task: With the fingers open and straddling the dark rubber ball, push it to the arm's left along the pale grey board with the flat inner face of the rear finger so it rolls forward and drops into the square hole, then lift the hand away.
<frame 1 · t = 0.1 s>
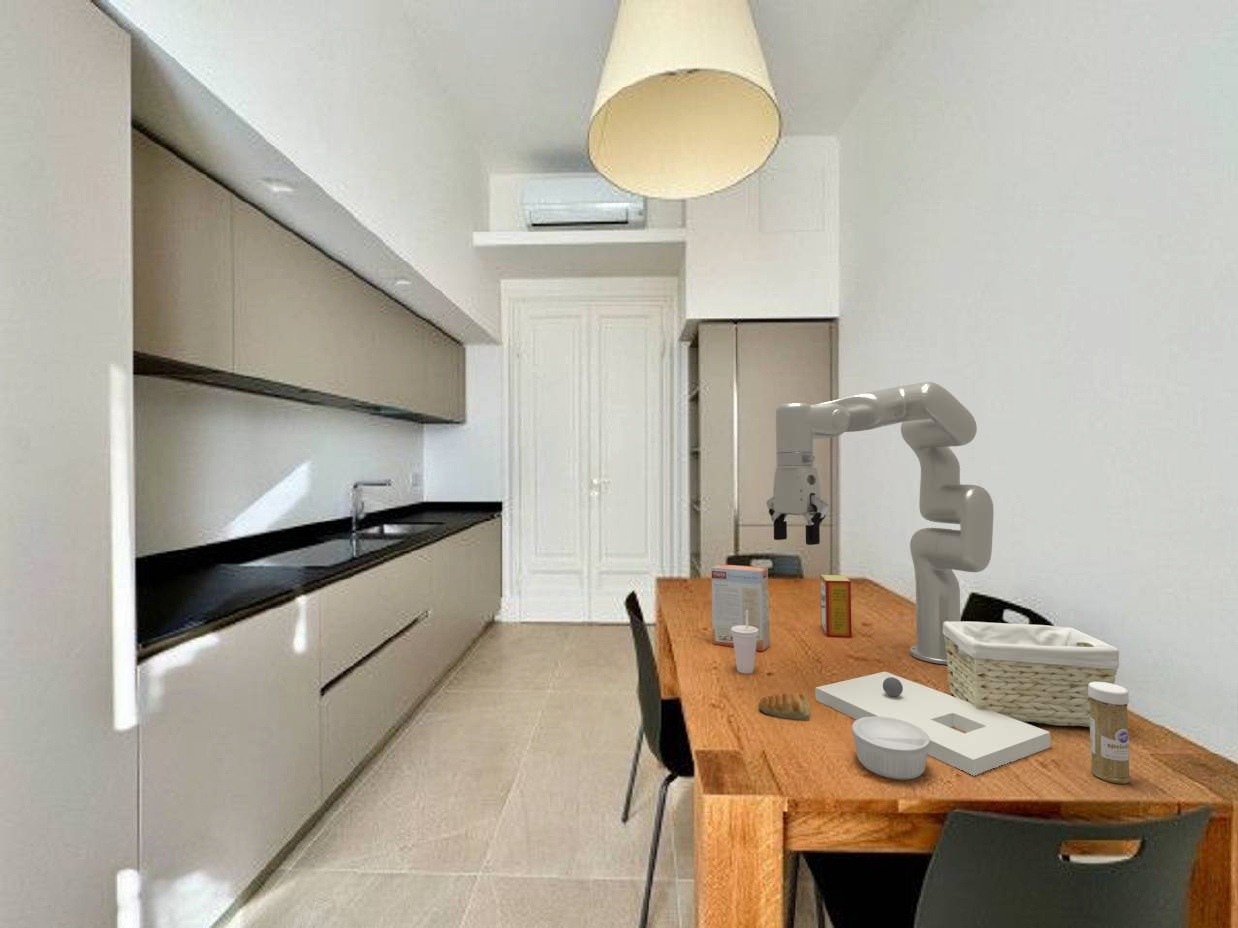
hand: (796, 541, 120), 31 cm above the table, tool pointing down, fingers open, 9 cm apart
sprinkles bottle: (1110, 777, 84), on the table
ball: (892, 686, 109), point 4 cm above the table, touching board
ramekin: (890, 766, 88), on the table
smoothie: (745, 671, 131), on the table
baking soda box: (835, 633, 160), on the table
pastry: (787, 714, 108), on the table
board: (921, 721, 103), on the table
cracker box: (740, 646, 150), on the table
storage basket: (1025, 711, 107), on the table, touching board
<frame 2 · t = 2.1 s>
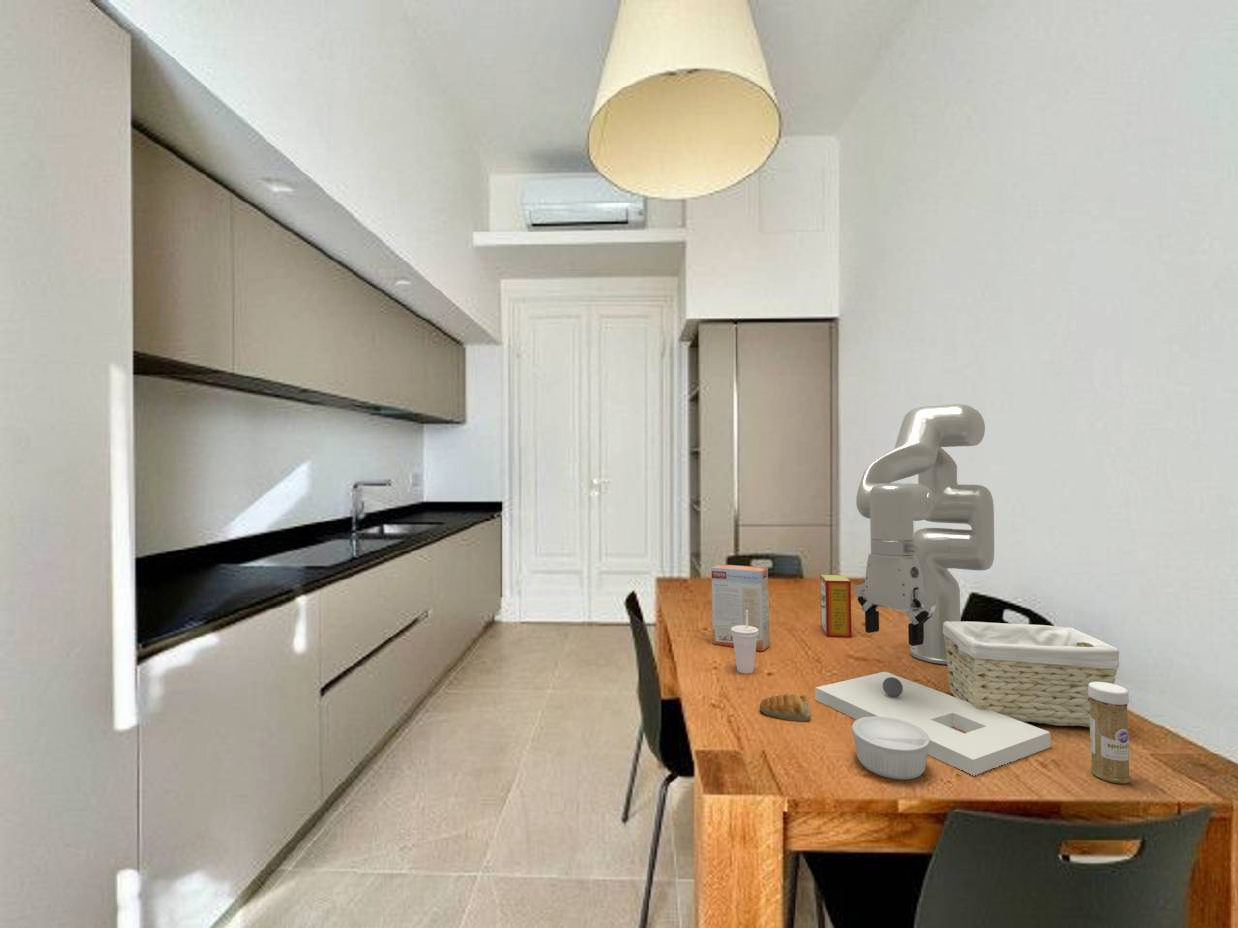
hand: (893, 637, 108), 14 cm above the table, tool pointing down, fingers open, 9 cm apart
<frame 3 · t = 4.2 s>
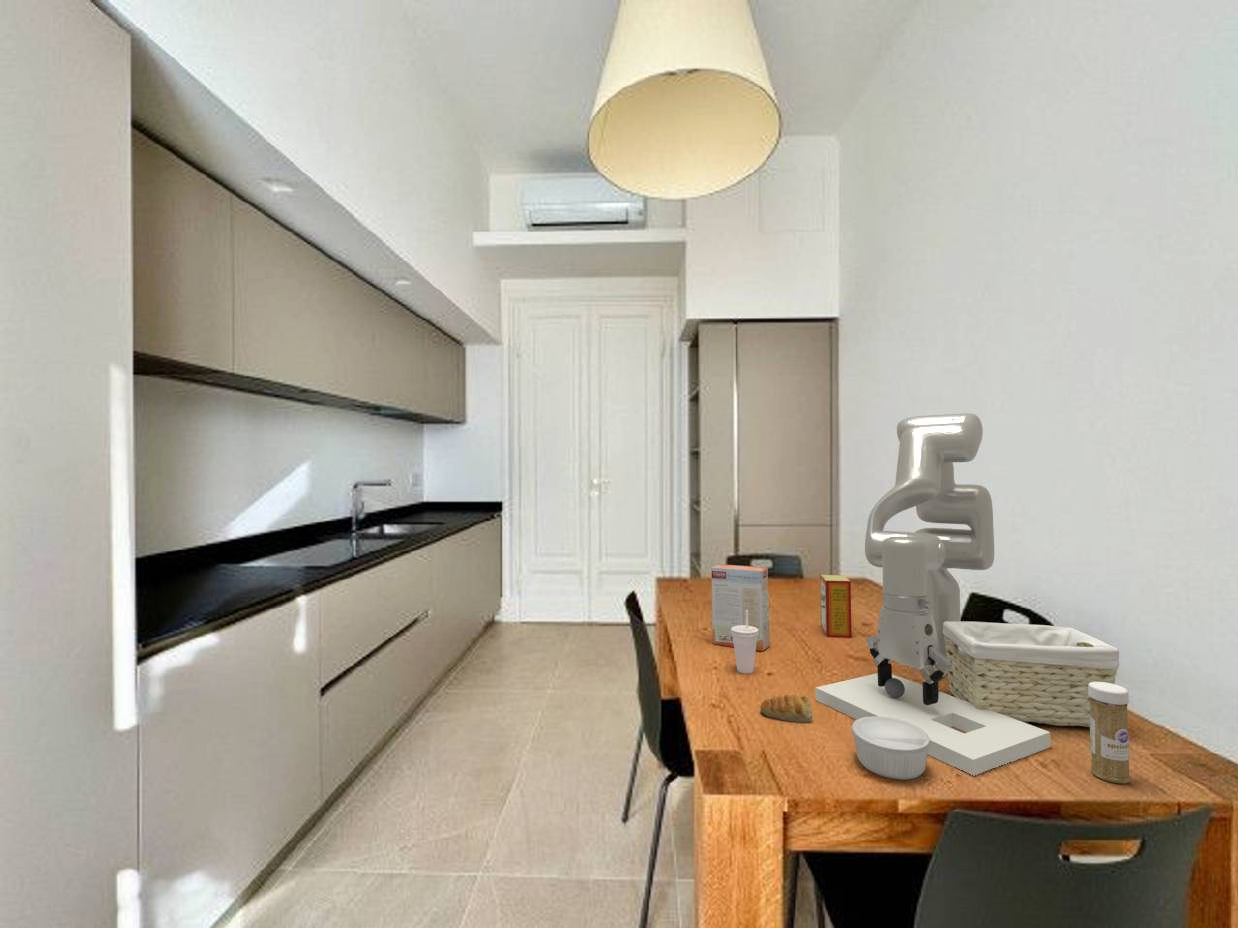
hand: (906, 693, 106), 4 cm above the table, tool pointing down, fingers open, 9 cm apart
ball: (894, 687, 108), point 4 cm above the table, tilted 14°, touching board
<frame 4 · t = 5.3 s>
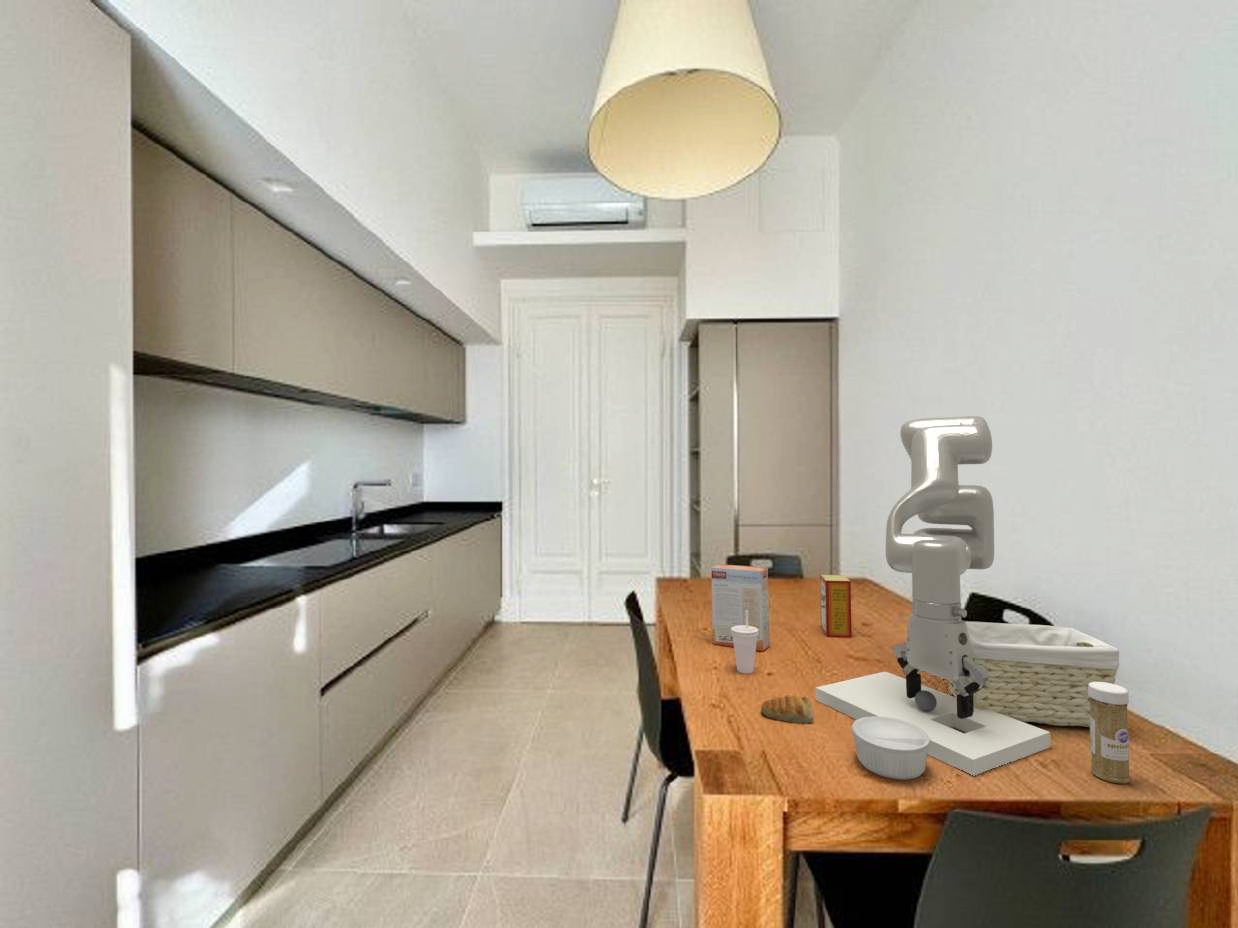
hand: (938, 706, 100), 4 cm above the table, tool pointing down, fingers open, 9 cm apart
ball: (925, 700, 102), point 4 cm above the table, tilted 126°, touching board
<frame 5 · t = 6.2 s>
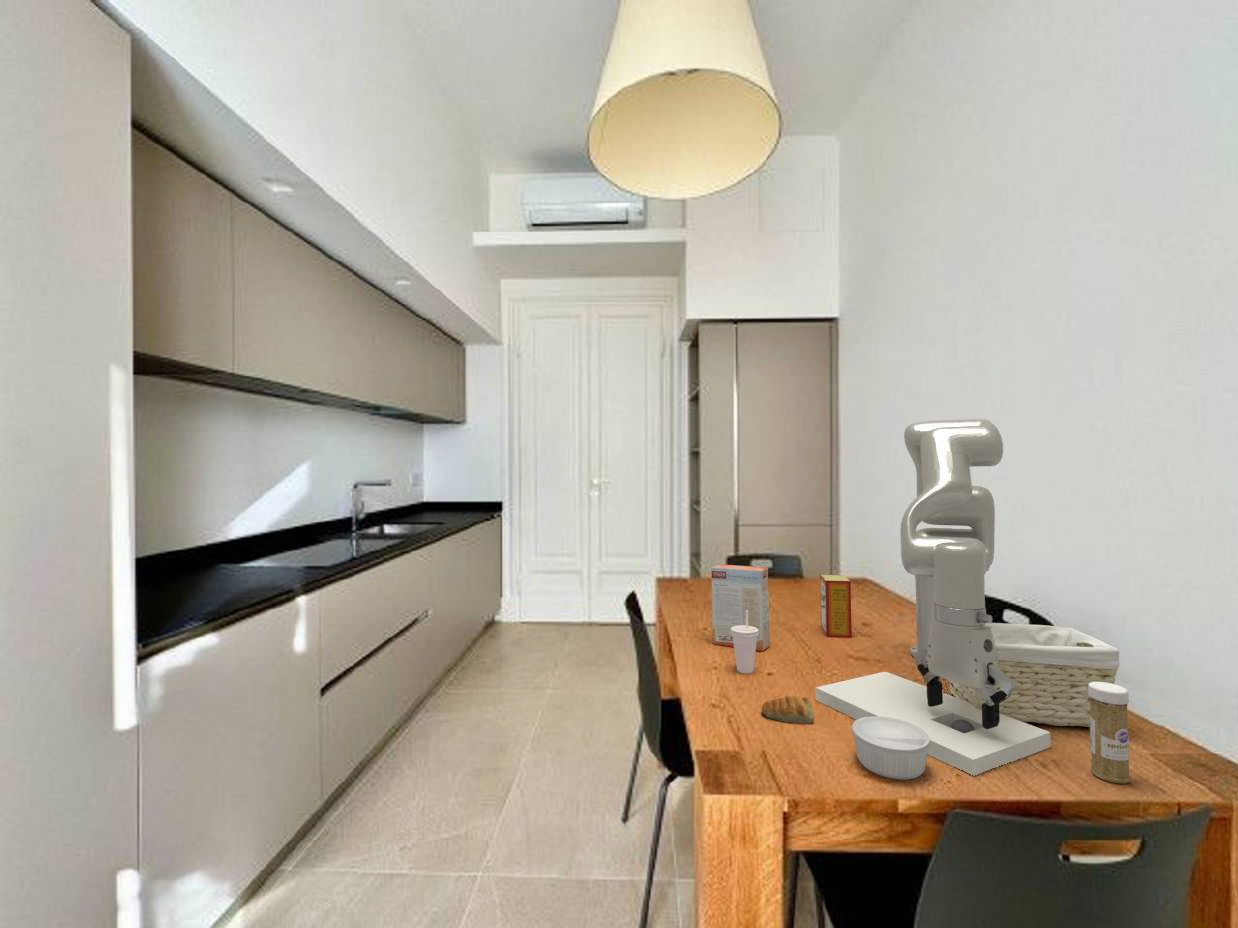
hand: (961, 715, 96), 4 cm above the table, tool pointing down, fingers open, 9 cm apart
ball: (963, 730, 96), point 2 cm above the table, tilted 131°
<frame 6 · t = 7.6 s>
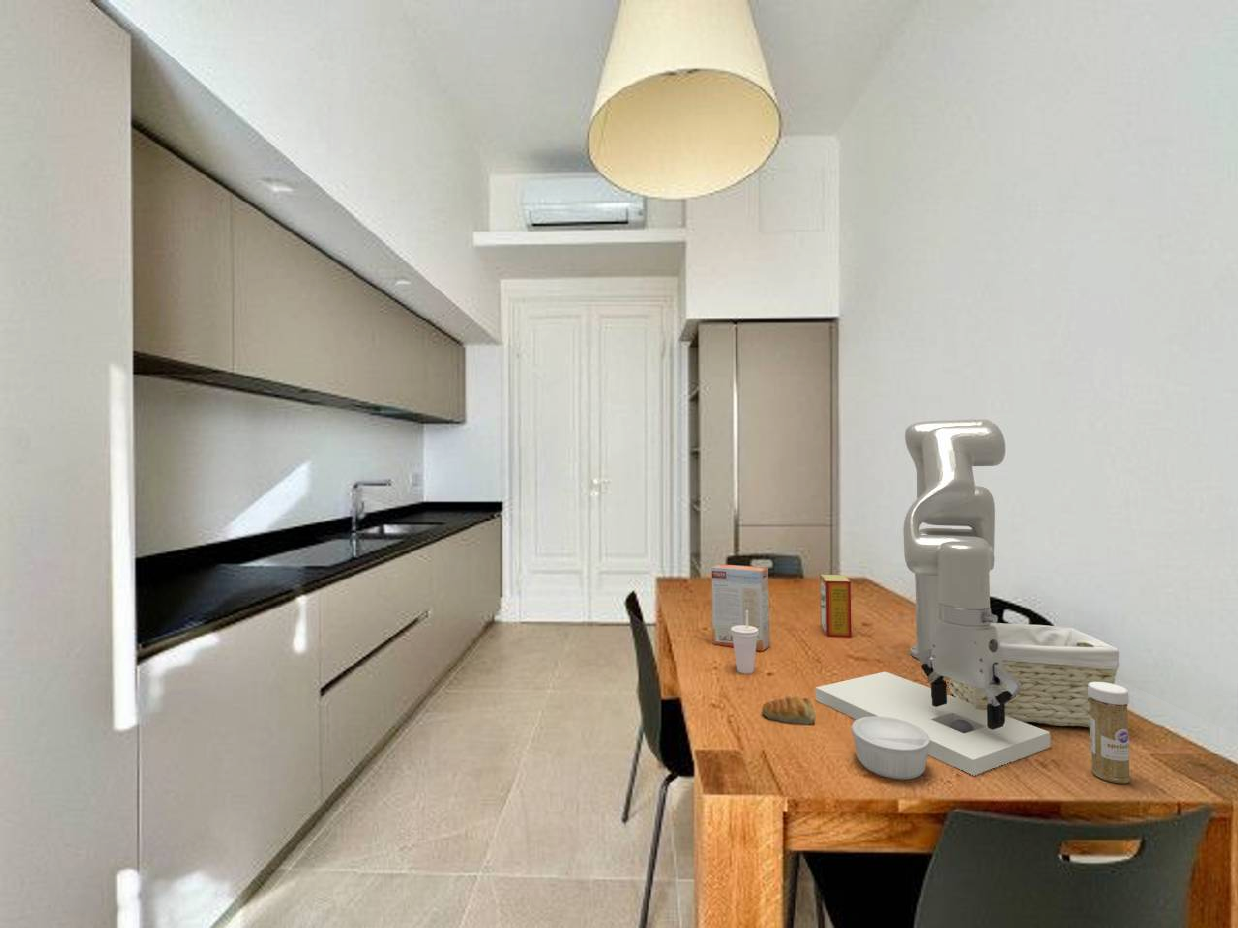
hand: (966, 715, 96), 4 cm above the table, tool pointing down, fingers open, 9 cm apart
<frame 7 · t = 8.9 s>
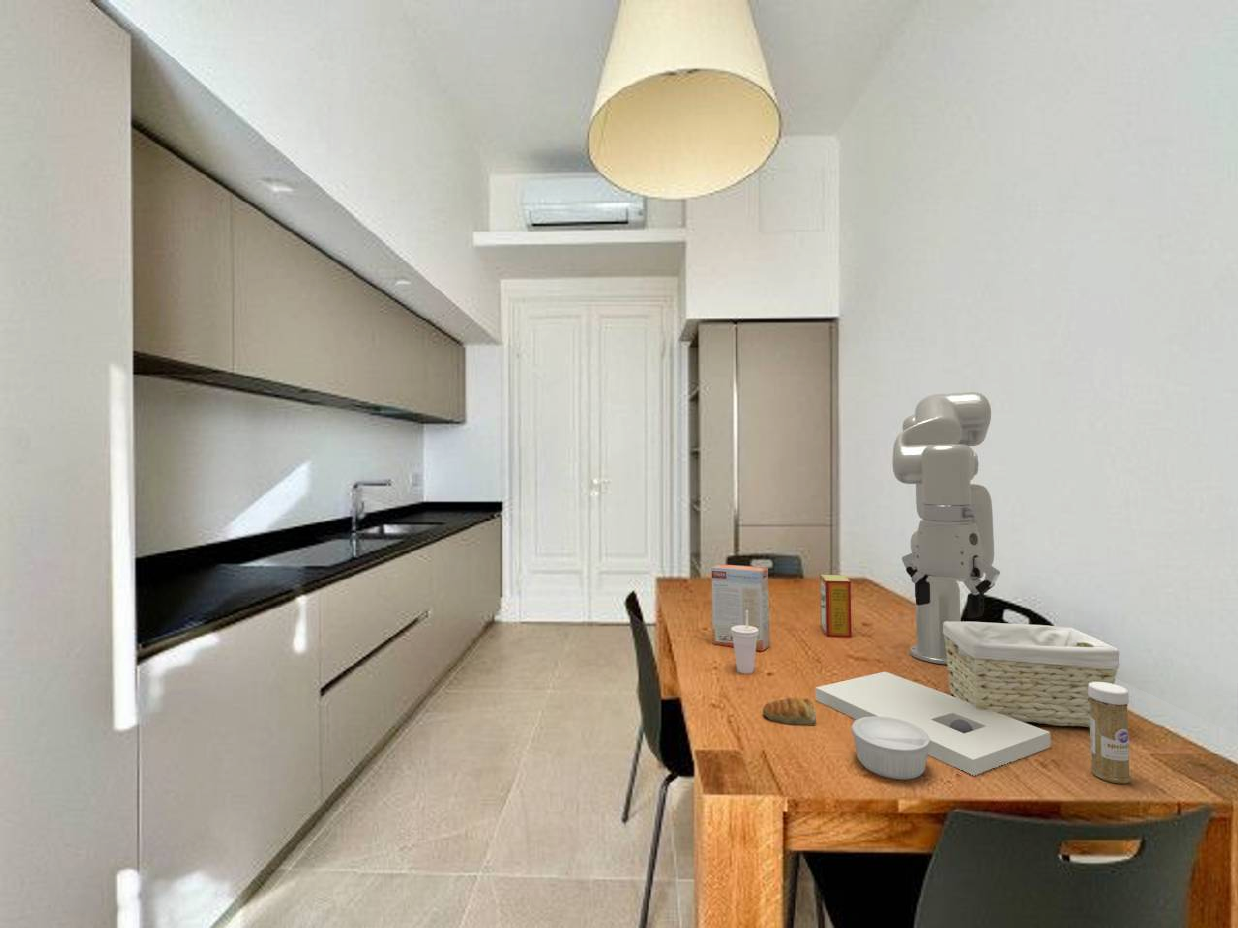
hand: (948, 610, 100), 21 cm above the table, tool pointing down, fingers open, 9 cm apart
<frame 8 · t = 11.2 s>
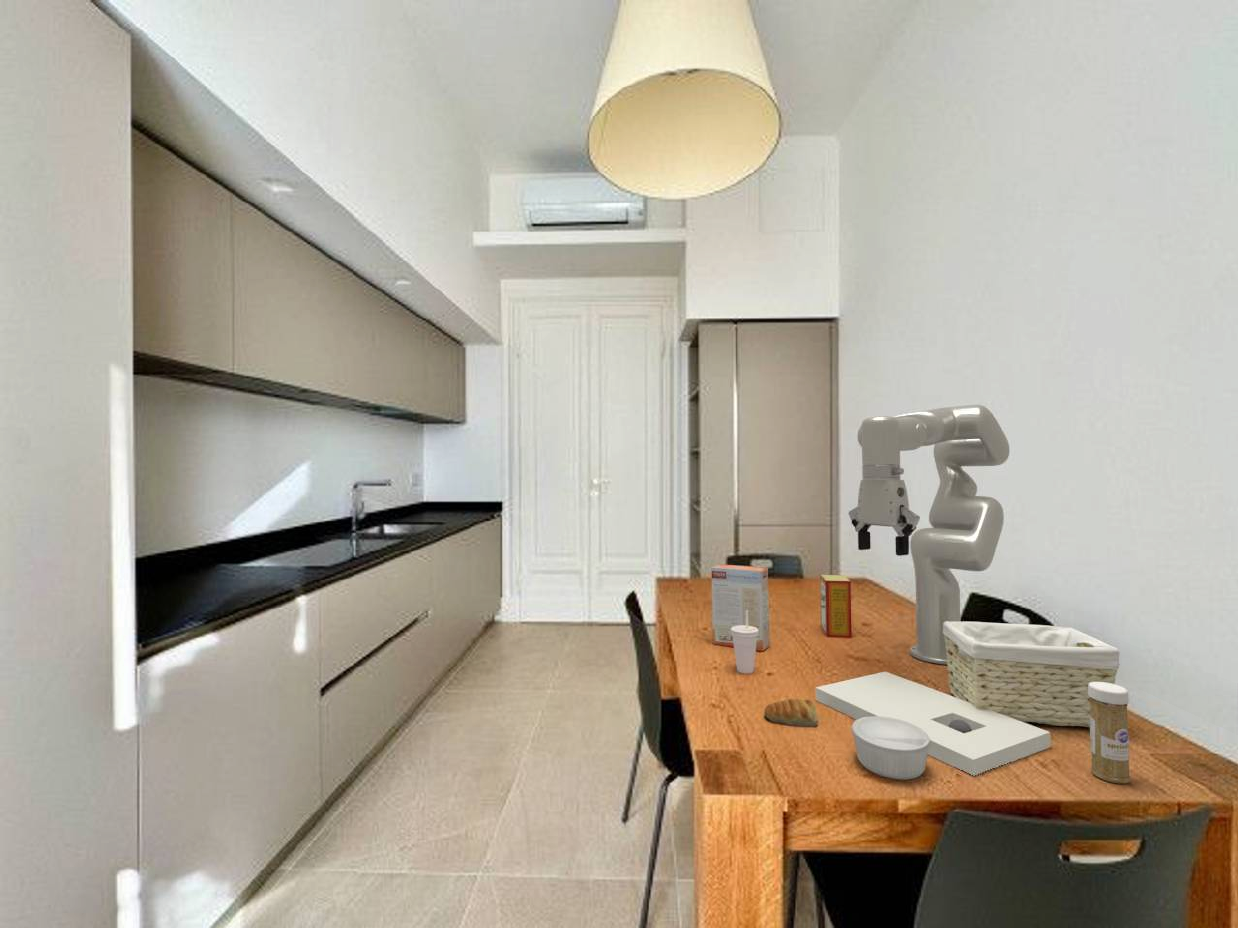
hand: (882, 552, 122), 28 cm above the table, tool pointing down, fingers open, 9 cm apart
at the end: ball 1.4 cm from the target spot on the board, point 1.7 cm above the board's base; ball point 1.7 cm above the table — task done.
